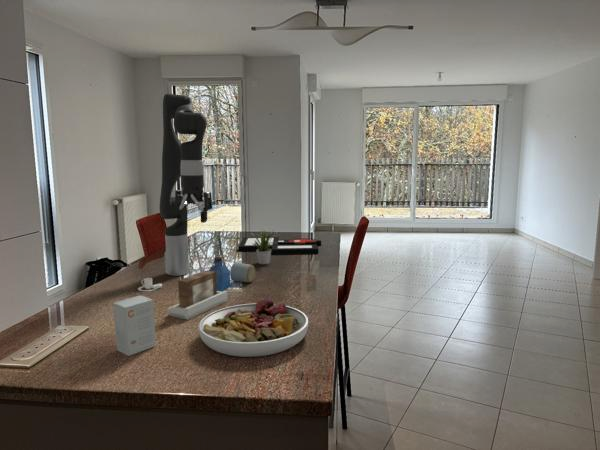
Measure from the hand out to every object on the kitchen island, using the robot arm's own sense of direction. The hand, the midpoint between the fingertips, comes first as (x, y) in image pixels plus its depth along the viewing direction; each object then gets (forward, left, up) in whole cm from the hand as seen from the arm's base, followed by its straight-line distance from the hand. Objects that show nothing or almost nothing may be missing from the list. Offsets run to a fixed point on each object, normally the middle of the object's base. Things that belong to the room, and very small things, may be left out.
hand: (194, 221), depth 151 cm
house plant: (-7, +57, -28) cm, 64 cm away
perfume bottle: (-2, +15, -28) cm, 32 cm away
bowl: (+36, -18, -29) cm, 49 cm away
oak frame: (+6, -6, -27) cm, 28 cm away
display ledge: (+6, -6, -28) cm, 29 cm away
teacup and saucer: (-25, +1, -29) cm, 38 cm away
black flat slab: (-20, +92, -29) cm, 98 cm away
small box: (+12, -38, -28) cm, 49 cm away
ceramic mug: (0, +28, -28) cm, 40 cm away
